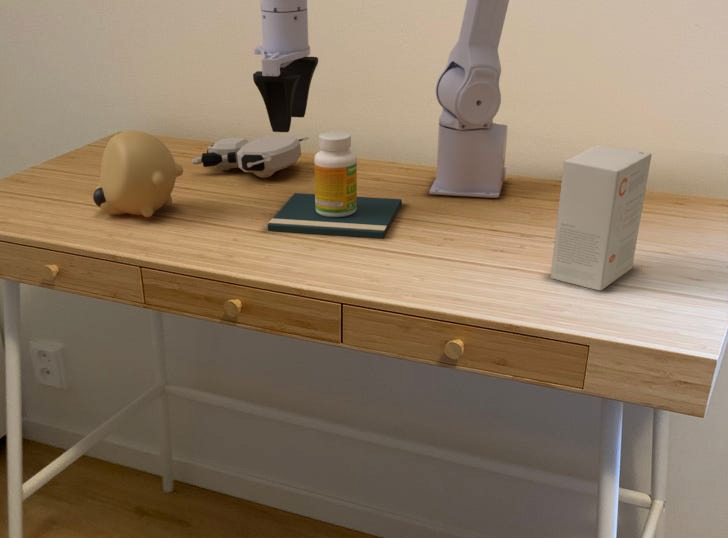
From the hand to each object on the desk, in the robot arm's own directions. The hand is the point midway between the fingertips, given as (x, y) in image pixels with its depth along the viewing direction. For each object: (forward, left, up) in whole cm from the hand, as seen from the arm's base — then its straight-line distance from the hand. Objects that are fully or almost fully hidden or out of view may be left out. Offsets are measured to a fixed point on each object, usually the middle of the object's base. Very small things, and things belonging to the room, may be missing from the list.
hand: (289, 123), depth 121 cm
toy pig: (+19, +8, -10) cm, 23 cm away
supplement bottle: (-7, +5, -10) cm, 13 cm away
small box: (-40, +18, -11) cm, 45 cm away
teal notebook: (-7, +5, -10) cm, 14 cm away
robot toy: (+10, -13, -10) cm, 20 cm away
